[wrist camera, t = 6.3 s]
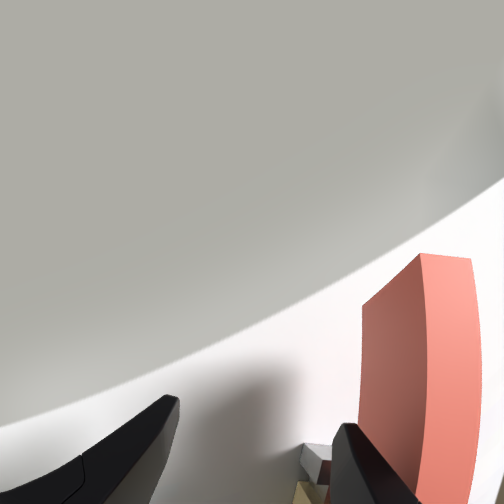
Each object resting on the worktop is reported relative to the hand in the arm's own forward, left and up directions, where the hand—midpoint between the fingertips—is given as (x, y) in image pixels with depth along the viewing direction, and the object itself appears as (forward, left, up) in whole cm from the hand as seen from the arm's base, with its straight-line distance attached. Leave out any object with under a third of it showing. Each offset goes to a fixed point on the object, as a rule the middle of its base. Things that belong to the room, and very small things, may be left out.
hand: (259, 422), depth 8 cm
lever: (-1, -5, -3) cm, 6 cm away
